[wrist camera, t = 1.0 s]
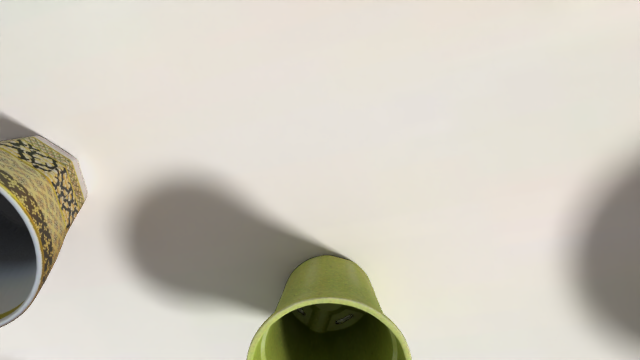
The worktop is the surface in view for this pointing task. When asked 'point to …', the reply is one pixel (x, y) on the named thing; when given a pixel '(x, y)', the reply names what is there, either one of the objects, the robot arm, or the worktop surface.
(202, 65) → the worktop surface
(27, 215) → the ceramic cup
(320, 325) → the plant pot
